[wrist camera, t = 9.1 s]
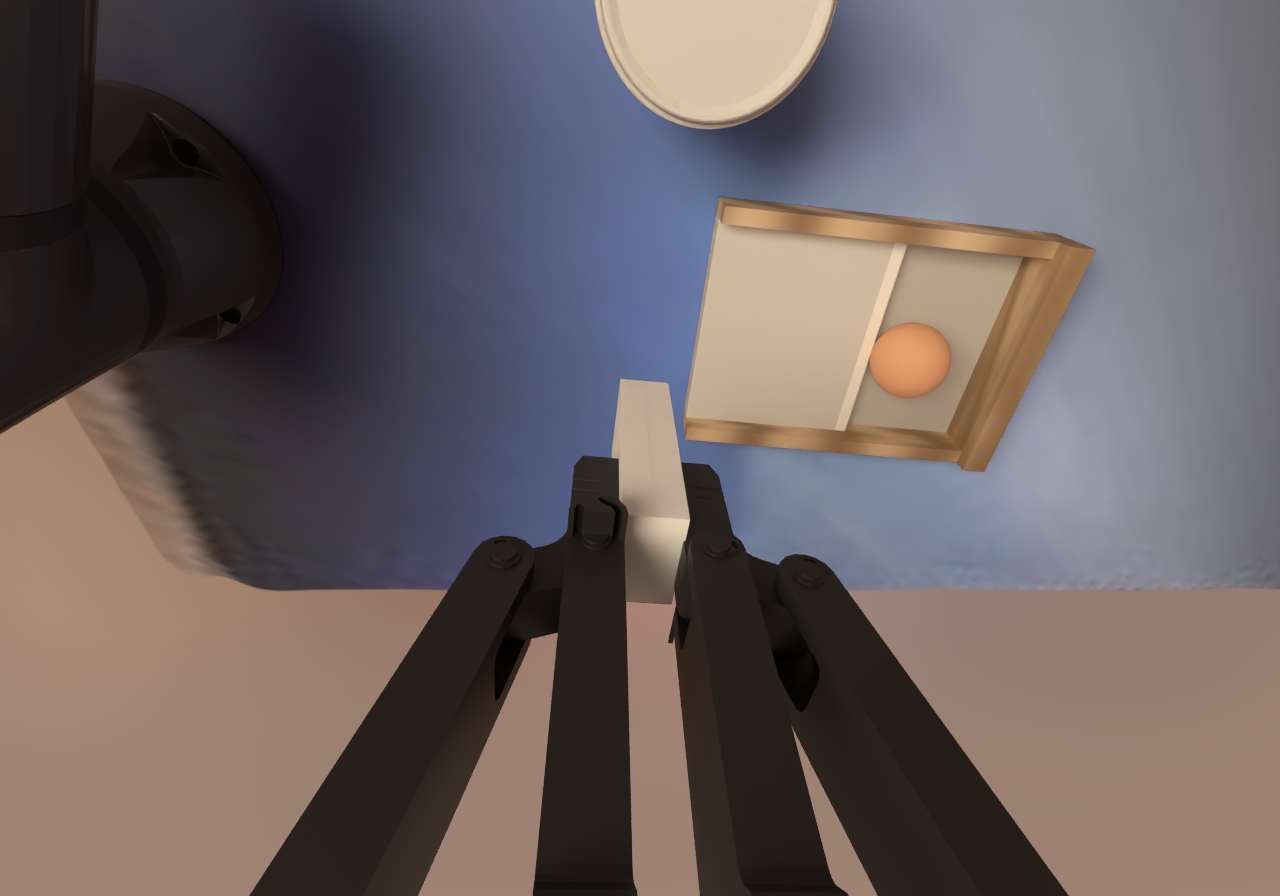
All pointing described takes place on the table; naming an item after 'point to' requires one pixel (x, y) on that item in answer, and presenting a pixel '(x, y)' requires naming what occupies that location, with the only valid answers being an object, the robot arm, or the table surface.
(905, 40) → the table surface
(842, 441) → the lane frame
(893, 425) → the mat
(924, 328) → the ball
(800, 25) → the coffee cup
